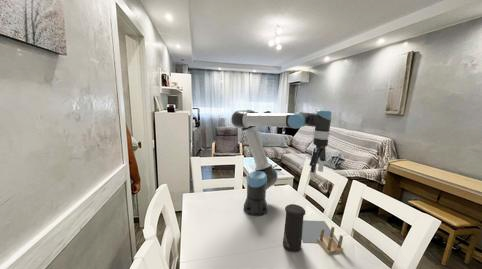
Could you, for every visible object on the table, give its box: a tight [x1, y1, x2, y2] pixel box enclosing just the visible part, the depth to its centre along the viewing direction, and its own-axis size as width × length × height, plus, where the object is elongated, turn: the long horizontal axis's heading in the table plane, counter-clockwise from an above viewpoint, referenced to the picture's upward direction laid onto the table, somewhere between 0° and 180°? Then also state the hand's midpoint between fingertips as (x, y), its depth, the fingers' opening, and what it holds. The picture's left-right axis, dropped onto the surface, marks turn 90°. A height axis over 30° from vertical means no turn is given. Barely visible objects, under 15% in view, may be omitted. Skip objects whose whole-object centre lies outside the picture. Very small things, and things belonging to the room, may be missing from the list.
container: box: [282, 203, 306, 253], centre depth 90 cm, size 9×9×20 cm
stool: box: [317, 226, 344, 255], centre depth 92 cm, size 8×8×8 cm
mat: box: [302, 219, 339, 244], centre depth 103 cm, size 18×18×1 cm
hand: (316, 174), depth 112 cm, fingers open, 13 cm apart
